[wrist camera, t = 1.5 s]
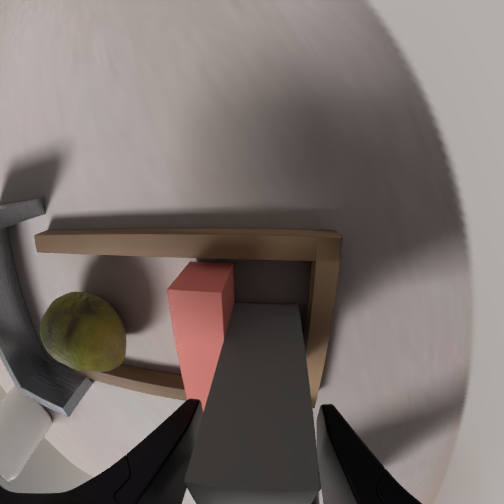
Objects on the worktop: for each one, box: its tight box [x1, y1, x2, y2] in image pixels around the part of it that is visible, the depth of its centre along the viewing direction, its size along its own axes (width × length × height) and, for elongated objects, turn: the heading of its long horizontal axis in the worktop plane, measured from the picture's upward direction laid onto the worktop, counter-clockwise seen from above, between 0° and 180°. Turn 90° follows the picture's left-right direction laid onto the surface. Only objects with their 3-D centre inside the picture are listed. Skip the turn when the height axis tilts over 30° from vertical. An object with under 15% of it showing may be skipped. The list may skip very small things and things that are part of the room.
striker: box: [167, 262, 320, 504], centre depth 9 cm, size 7×5×9 cm
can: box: [0, 387, 52, 483], centre depth 15 cm, size 6×6×12 cm
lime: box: [39, 292, 126, 372], centre depth 12 cm, size 4×5×5 cm
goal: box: [0, 198, 92, 418], centre depth 13 cm, size 14×6×4 cm, turn 0°
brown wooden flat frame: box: [34, 228, 342, 408], centre depth 13 cm, size 10×16×1 cm, turn 90°
